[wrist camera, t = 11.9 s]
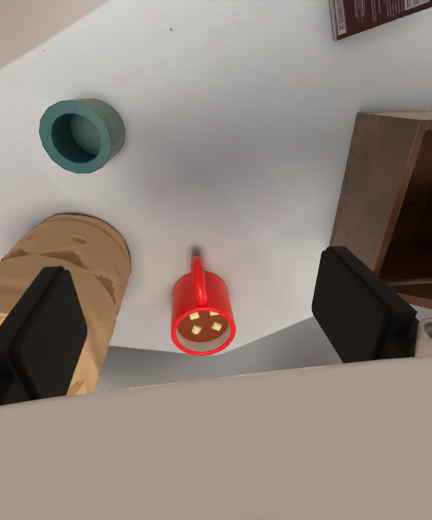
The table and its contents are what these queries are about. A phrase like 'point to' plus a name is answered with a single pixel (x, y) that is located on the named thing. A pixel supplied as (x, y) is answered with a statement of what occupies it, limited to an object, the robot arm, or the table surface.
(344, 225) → the chest
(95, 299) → the container
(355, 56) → the table surface
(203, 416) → the robot arm
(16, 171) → the table surface
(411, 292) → the lid
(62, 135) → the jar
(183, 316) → the mug
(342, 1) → the supplement box
